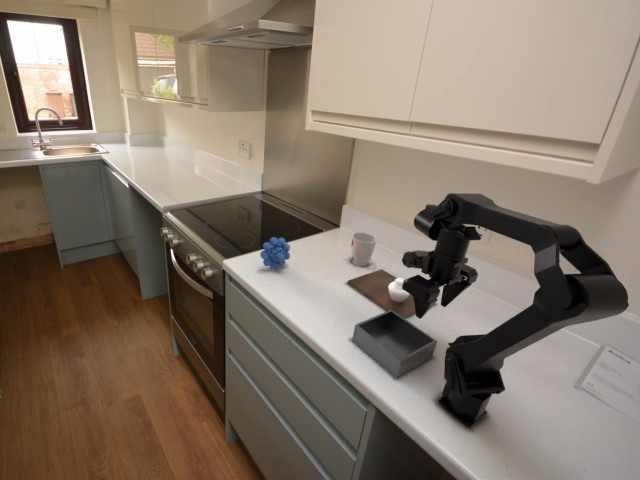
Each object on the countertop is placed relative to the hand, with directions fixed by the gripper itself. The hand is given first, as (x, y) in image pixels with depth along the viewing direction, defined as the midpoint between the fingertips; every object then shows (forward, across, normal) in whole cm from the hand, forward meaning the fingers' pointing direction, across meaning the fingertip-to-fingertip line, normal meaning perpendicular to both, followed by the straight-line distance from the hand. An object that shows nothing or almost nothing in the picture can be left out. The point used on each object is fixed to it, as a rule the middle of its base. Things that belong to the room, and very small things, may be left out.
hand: (431, 311), depth 77 cm
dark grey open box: (+12, +5, -4) cm, 14 cm away
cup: (+12, -20, -38) cm, 45 cm away
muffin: (+11, -12, -16) cm, 23 cm away
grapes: (+12, +10, -47) cm, 50 cm away
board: (+12, -14, -20) cm, 27 cm away
